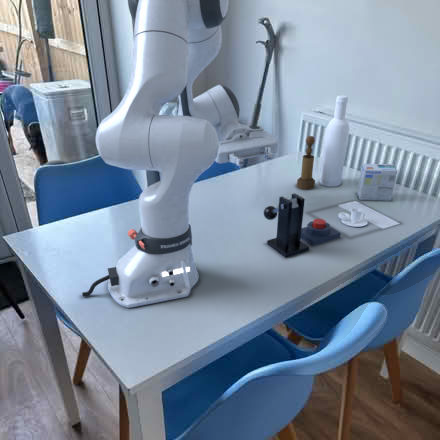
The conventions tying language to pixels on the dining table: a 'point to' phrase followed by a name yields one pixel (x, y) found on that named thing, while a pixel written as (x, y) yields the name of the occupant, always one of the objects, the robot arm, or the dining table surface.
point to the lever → (272, 212)
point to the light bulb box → (377, 181)
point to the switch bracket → (289, 228)
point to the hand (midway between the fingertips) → (255, 160)
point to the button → (319, 223)
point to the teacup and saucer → (355, 215)
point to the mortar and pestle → (307, 167)
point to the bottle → (335, 145)
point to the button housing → (318, 234)
